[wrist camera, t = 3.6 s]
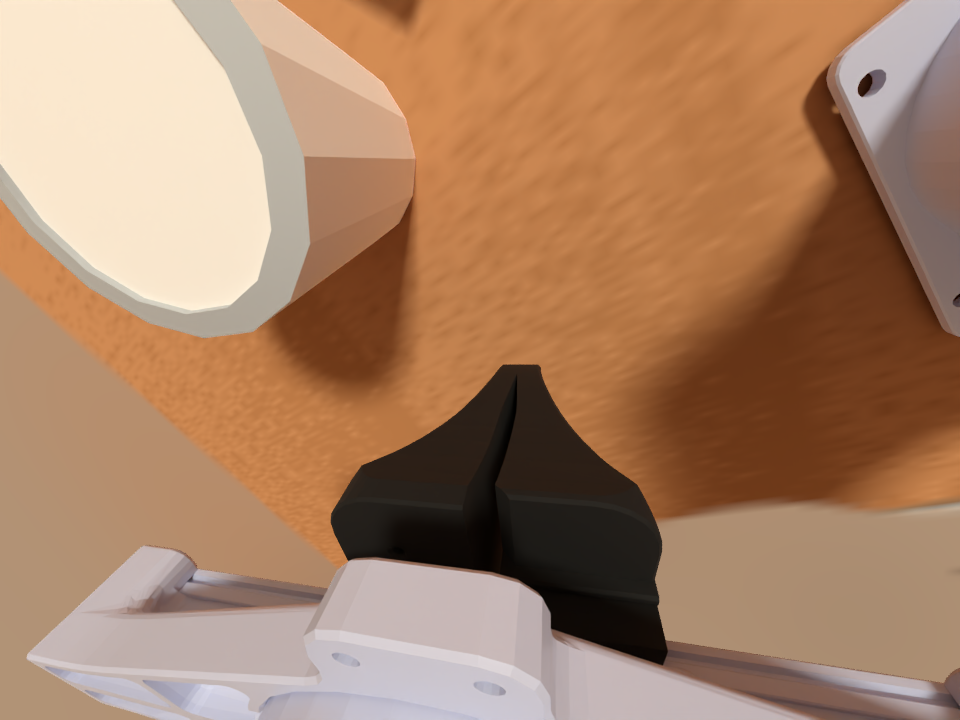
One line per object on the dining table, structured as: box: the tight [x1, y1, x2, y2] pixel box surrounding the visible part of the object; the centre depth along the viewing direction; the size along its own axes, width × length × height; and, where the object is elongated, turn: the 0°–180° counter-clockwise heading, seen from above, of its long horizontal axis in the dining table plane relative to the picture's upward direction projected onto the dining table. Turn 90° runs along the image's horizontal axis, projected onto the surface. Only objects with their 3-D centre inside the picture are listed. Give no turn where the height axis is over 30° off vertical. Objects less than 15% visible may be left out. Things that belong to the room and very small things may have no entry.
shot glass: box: [0, 0, 416, 338], centre depth 9 cm, size 7×7×7 cm
